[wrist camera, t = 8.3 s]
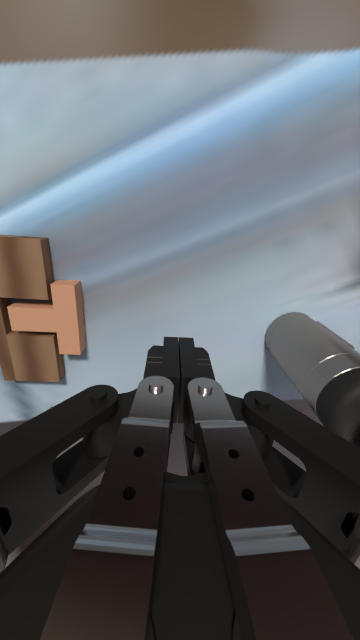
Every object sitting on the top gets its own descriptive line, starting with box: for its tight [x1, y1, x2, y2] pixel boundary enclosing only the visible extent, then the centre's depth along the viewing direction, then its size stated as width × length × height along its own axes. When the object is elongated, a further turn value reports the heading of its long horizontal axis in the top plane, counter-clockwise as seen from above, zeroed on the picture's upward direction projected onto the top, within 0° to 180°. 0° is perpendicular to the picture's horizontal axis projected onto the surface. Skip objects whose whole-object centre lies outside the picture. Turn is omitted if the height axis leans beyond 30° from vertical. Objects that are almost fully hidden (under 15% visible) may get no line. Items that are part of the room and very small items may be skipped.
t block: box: [7, 280, 86, 355], centre depth 41 cm, size 10×12×3 cm
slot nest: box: [0, 235, 65, 382], centre depth 41 cm, size 10×24×2 cm, turn 176°
